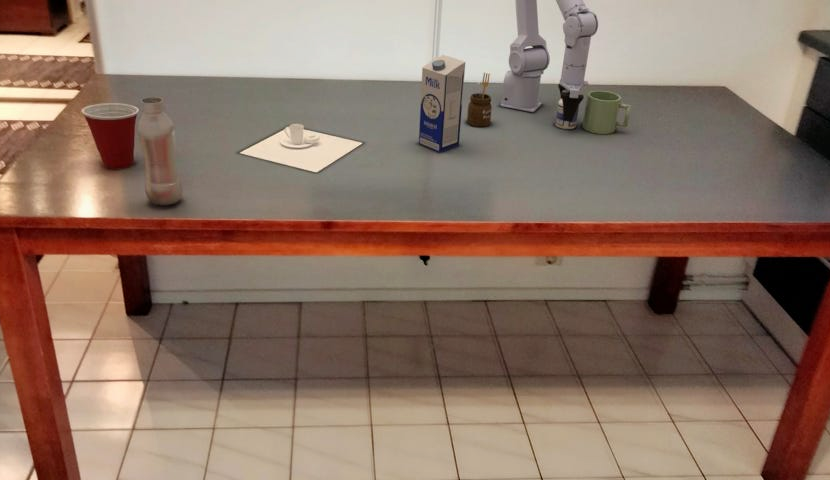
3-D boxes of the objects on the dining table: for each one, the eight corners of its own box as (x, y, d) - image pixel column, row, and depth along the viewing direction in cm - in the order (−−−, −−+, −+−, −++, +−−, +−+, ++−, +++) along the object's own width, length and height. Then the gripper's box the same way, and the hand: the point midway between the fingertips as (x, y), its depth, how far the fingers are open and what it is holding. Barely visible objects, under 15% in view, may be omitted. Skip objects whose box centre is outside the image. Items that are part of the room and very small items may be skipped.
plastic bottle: (151, 194, 148) (136, 94, 137) (187, 194, 149) (174, 95, 138) (143, 209, 142) (127, 105, 132) (180, 209, 143) (167, 106, 133)
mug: (579, 130, 192) (584, 97, 188) (586, 120, 199) (591, 88, 194) (622, 138, 189) (629, 105, 184) (628, 128, 195) (635, 96, 191)
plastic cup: (157, 159, 162) (149, 104, 156) (124, 177, 154) (114, 120, 147) (115, 150, 165) (105, 96, 159) (80, 168, 156) (68, 111, 150)
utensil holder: (463, 124, 191) (467, 77, 185) (471, 117, 196) (475, 71, 190) (485, 128, 189) (490, 81, 183) (493, 121, 194) (498, 74, 188)
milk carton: (459, 145, 179) (466, 60, 168) (440, 152, 174) (445, 66, 164) (437, 137, 183) (442, 53, 172) (418, 143, 178) (422, 58, 168)
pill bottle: (575, 123, 196) (580, 89, 192) (576, 130, 192) (581, 96, 187) (554, 121, 197) (559, 87, 192) (555, 128, 192) (560, 94, 188)
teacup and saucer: (324, 141, 176) (324, 124, 174) (305, 152, 170) (305, 135, 167) (292, 134, 179) (291, 117, 177) (272, 144, 173) (271, 127, 170)
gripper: (594, 73, 180) (585, 128, 187) (587, 56, 192) (579, 108, 199) (565, 71, 180) (557, 125, 187) (559, 54, 192) (552, 106, 199)
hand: (566, 117), depth 193 cm, fingers closed on pill bottle, 5 cm apart
